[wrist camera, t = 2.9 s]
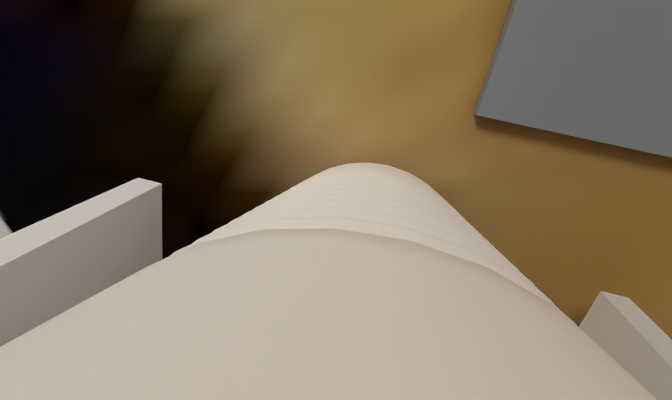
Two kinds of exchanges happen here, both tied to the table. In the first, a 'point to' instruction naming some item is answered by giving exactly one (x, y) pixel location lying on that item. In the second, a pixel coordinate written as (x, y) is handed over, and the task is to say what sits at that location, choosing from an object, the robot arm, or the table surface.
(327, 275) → the cup
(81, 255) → the robot arm
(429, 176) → the table surface
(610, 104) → the placemat
